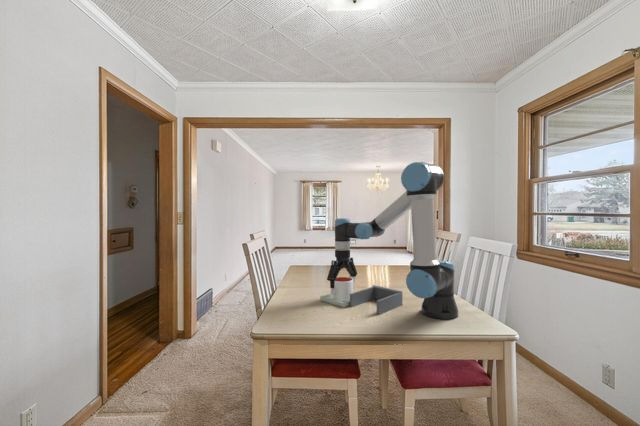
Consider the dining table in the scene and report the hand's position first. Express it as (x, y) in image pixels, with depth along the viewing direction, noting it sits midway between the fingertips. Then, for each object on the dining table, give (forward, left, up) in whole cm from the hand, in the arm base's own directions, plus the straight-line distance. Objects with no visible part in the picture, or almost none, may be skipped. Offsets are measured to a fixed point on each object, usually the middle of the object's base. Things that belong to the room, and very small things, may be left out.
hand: (342, 291), depth 160 cm
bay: (-17, -5, -4) cm, 18 cm away
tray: (0, 0, -4) cm, 4 cm away
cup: (0, 0, -4) cm, 4 cm away
